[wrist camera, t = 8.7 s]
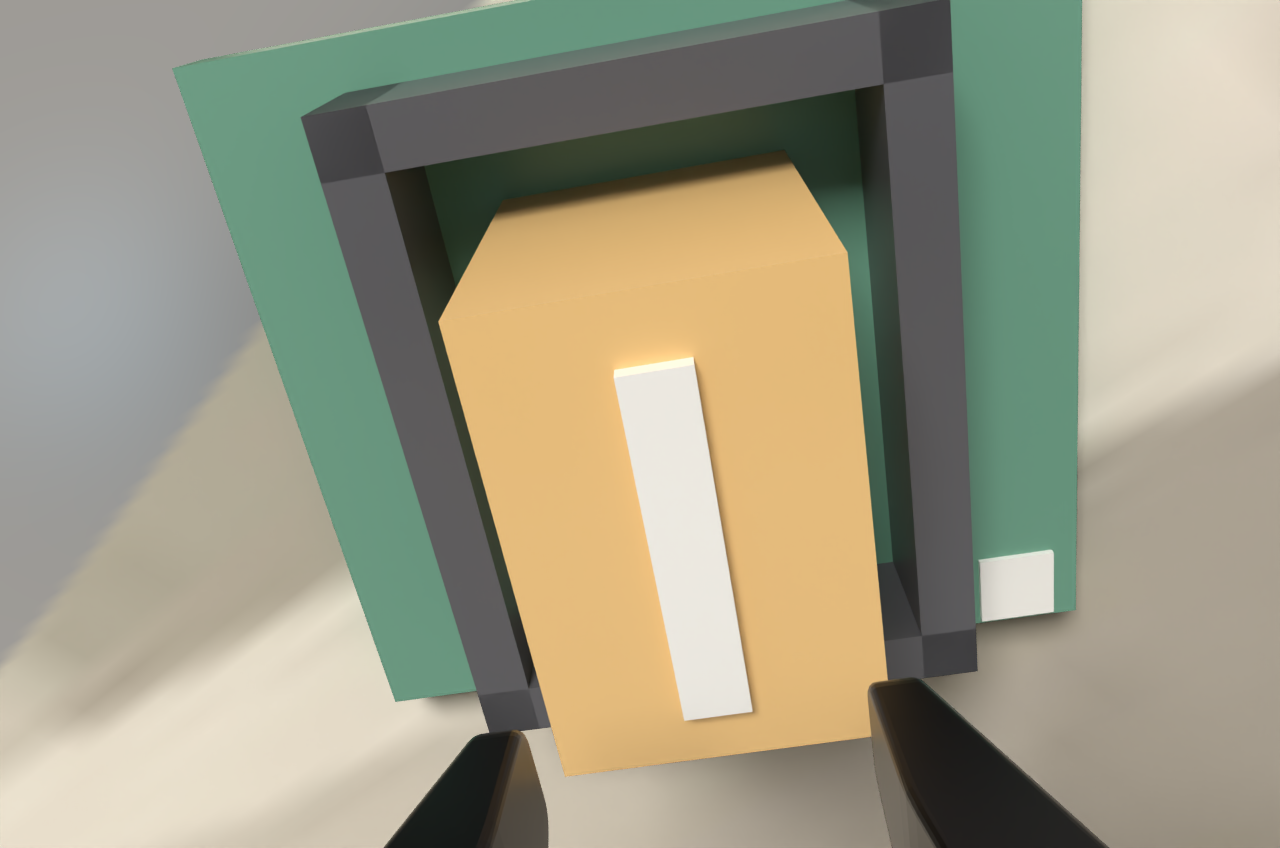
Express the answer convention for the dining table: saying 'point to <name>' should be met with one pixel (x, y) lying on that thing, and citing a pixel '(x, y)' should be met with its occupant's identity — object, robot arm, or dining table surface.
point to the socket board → (650, 143)
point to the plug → (676, 461)
